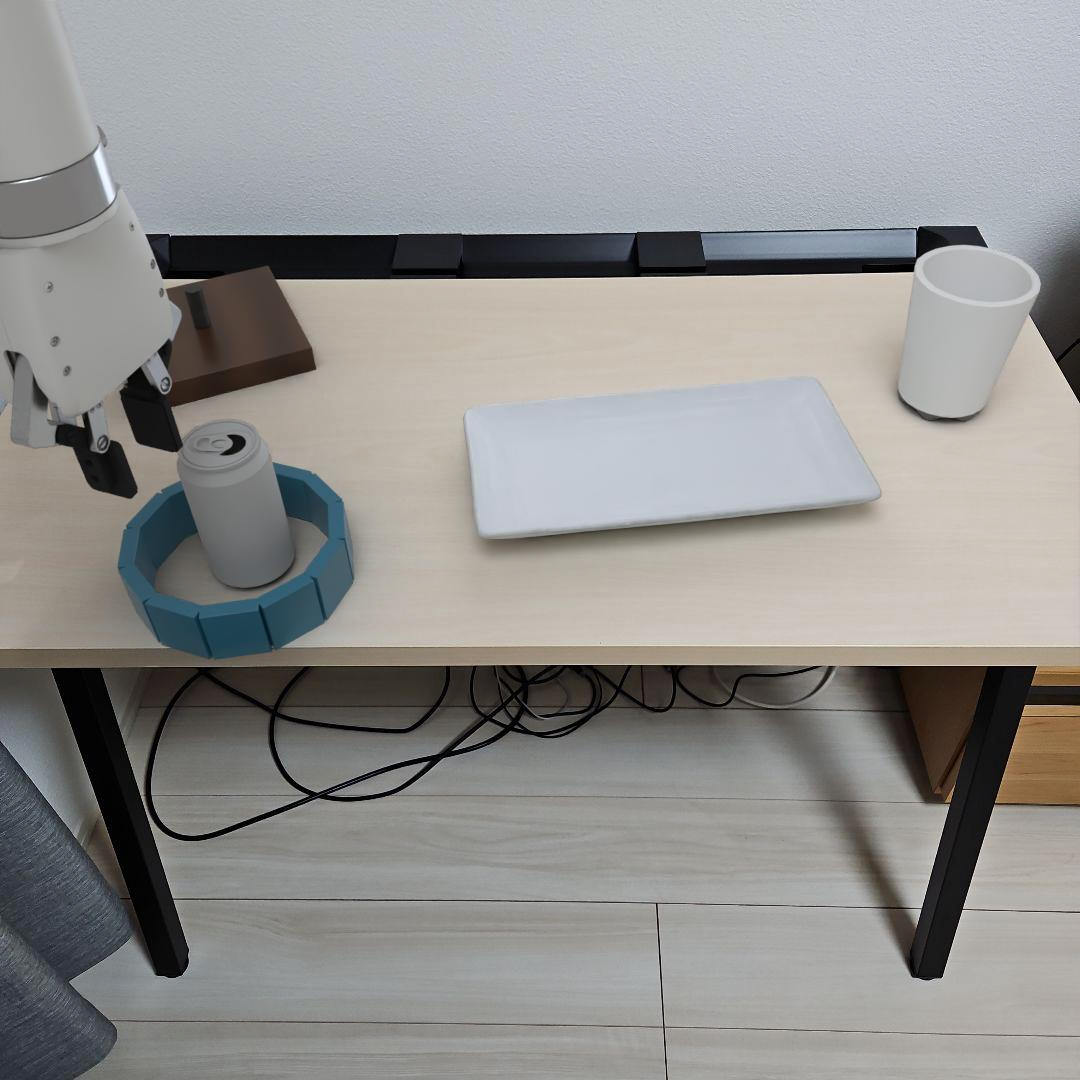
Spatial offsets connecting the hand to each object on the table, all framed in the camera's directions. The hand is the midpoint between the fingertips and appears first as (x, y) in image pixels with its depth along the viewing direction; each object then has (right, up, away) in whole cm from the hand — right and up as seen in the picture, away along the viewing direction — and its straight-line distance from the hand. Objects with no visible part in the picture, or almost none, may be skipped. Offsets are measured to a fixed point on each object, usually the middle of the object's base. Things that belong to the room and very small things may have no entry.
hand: (137, 465), depth 65 cm
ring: (+3, -7, +15) cm, 17 cm away
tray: (+35, 0, +22) cm, 41 cm away
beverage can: (+3, -7, +16) cm, 18 cm away
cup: (+61, +8, +30) cm, 68 cm away
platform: (-8, +14, +38) cm, 41 cm away
